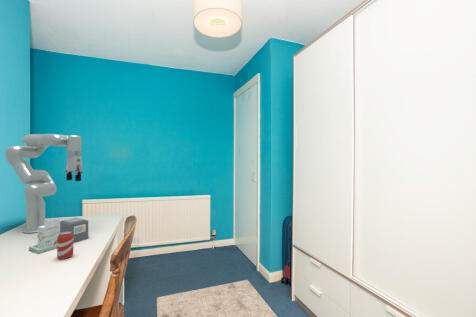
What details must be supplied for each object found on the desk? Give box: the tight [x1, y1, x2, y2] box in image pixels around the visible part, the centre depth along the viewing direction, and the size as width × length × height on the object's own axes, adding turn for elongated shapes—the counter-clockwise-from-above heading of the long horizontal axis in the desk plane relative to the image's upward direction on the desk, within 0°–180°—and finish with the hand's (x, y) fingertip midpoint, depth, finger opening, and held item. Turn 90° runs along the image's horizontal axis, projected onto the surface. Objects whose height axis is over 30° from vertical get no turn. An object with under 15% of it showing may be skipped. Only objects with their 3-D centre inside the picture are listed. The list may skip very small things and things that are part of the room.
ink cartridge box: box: [37, 218, 61, 249], centre depth 124 cm, size 9×5×15 cm, turn 165°
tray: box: [28, 243, 57, 254], centre depth 123 cm, size 10×14×2 cm
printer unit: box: [60, 217, 89, 243], centre depth 136 cm, size 12×10×12 cm
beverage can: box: [56, 231, 75, 260], centre depth 111 cm, size 6×6×12 cm
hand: (73, 180), depth 147 cm, fingers open, 9 cm apart
